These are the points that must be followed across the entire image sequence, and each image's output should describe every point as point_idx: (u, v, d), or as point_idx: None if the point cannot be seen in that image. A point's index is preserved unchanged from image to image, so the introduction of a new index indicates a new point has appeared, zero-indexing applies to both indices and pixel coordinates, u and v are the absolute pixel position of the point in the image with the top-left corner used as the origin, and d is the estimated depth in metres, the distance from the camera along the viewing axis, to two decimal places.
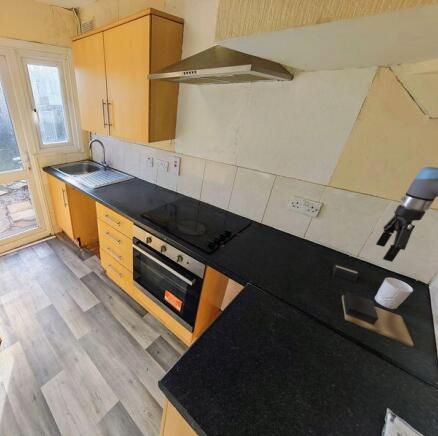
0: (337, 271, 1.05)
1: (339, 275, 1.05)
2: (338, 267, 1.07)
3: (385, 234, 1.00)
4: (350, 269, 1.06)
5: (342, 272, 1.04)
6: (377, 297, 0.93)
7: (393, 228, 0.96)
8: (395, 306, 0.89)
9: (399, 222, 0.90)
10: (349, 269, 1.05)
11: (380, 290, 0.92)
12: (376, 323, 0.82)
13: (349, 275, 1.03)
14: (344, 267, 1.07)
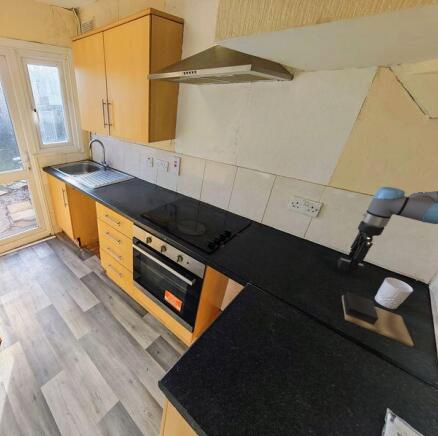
0: (342, 264, 1.03)
1: (344, 268, 1.03)
2: (343, 260, 1.04)
3: (352, 254, 1.05)
4: None
5: (347, 265, 1.02)
6: (377, 297, 0.93)
7: (358, 245, 1.02)
8: (395, 306, 0.89)
9: (362, 237, 0.96)
10: None
11: (380, 290, 0.92)
12: (376, 323, 0.82)
13: None
14: (349, 260, 1.05)
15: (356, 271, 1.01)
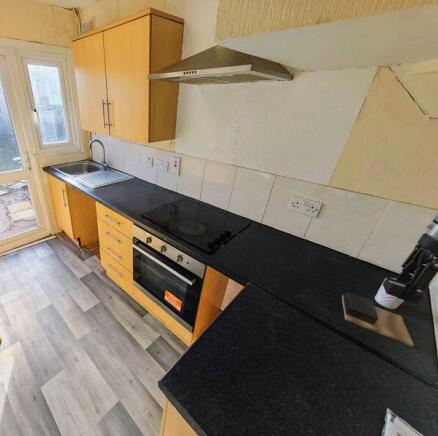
0: (392, 288, 0.78)
1: (395, 294, 0.79)
2: (393, 283, 0.80)
3: (404, 275, 0.80)
4: None
5: (400, 290, 0.77)
6: (377, 297, 0.93)
7: (415, 265, 0.77)
8: (395, 306, 0.89)
9: (424, 255, 0.72)
10: None
11: (380, 290, 0.92)
12: (376, 323, 0.82)
13: None
14: (401, 283, 0.80)
15: (412, 299, 0.77)
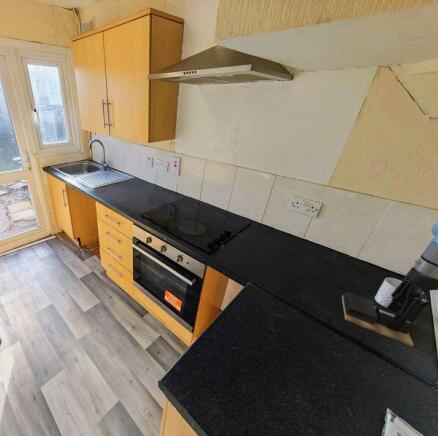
0: (382, 318, 0.81)
1: (385, 324, 0.81)
2: (383, 312, 0.82)
3: (394, 305, 0.82)
4: None
5: (389, 320, 0.80)
6: (377, 297, 0.93)
7: (404, 296, 0.79)
8: None
9: (412, 289, 0.74)
10: None
11: (380, 290, 0.92)
12: (376, 323, 0.82)
13: None
14: (390, 312, 0.82)
15: (401, 329, 0.79)
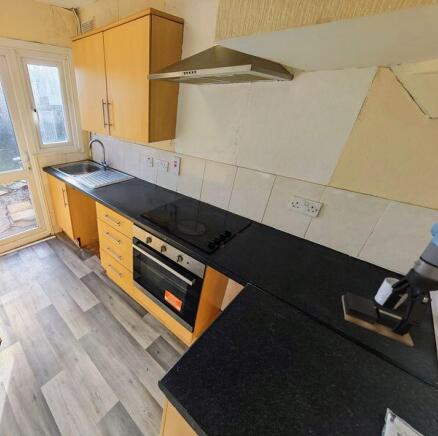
0: (382, 318, 0.81)
1: (385, 324, 0.81)
2: (383, 312, 0.82)
3: (394, 296, 0.84)
4: (399, 316, 0.81)
5: (389, 320, 0.80)
6: (377, 297, 0.93)
7: (403, 291, 0.81)
8: (395, 306, 0.89)
9: (412, 290, 0.74)
10: (397, 316, 0.81)
11: (380, 290, 0.92)
12: (376, 323, 0.82)
13: None
14: (390, 312, 0.82)
15: None
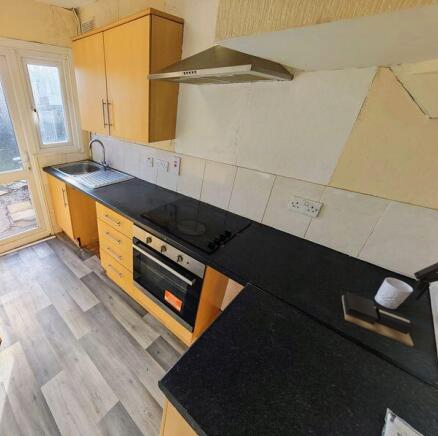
0: (382, 318, 0.81)
1: (385, 324, 0.81)
2: (383, 312, 0.82)
3: None
4: (399, 316, 0.81)
5: (389, 320, 0.80)
6: (377, 297, 0.93)
7: None
8: (395, 306, 0.89)
9: None
10: (397, 316, 0.81)
11: (380, 290, 0.92)
12: (376, 323, 0.82)
13: (398, 325, 0.79)
14: (390, 312, 0.82)
15: (401, 329, 0.79)
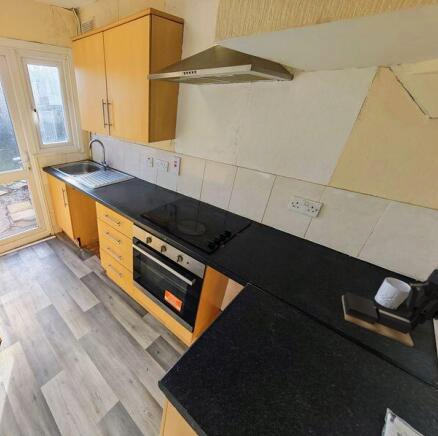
0: (382, 318, 0.81)
1: (384, 323, 0.81)
2: (382, 312, 0.82)
3: None
4: (398, 315, 0.81)
5: (389, 320, 0.80)
6: (377, 297, 0.93)
7: (431, 305, 0.74)
8: (395, 306, 0.89)
9: None
10: (397, 316, 0.81)
11: (380, 290, 0.92)
12: (376, 323, 0.82)
13: (398, 325, 0.79)
14: (390, 312, 0.82)
15: (400, 329, 0.79)
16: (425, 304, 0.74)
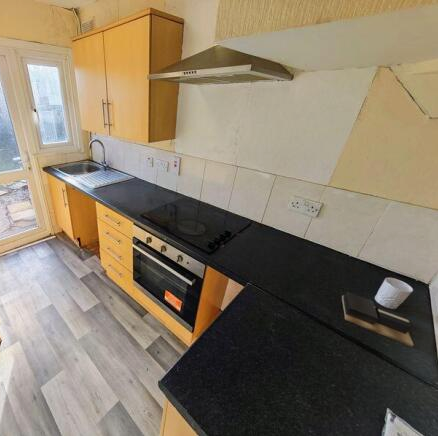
0: (381, 318, 0.81)
1: (384, 323, 0.81)
2: (382, 312, 0.82)
3: None
4: (398, 315, 0.81)
5: (388, 320, 0.80)
6: (377, 297, 0.93)
7: None
8: (395, 306, 0.89)
9: None
10: (396, 316, 0.81)
11: (380, 290, 0.92)
12: (376, 323, 0.82)
13: (398, 325, 0.79)
14: (389, 312, 0.82)
15: (400, 329, 0.79)
16: None
